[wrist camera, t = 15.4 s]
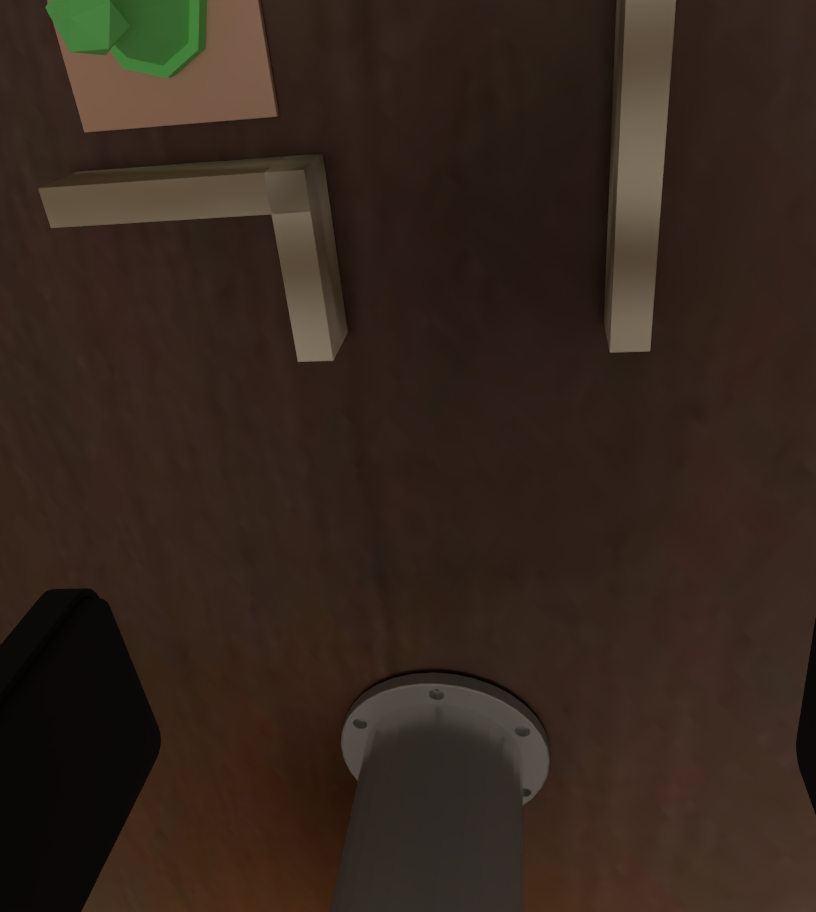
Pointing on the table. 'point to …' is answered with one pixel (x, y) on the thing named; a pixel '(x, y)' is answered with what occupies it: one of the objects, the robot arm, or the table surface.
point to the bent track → (303, 176)
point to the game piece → (134, 31)
